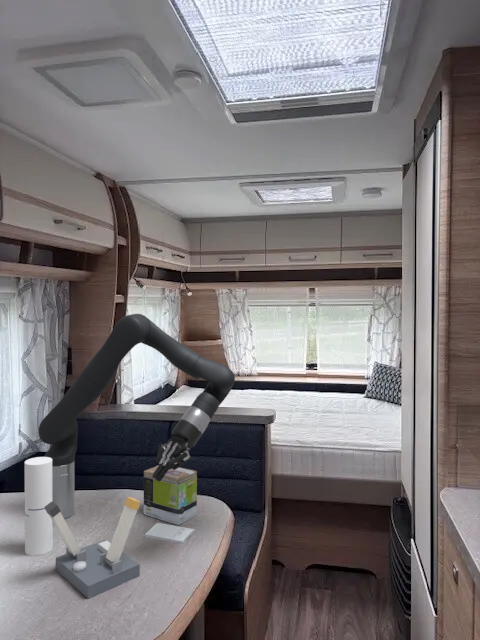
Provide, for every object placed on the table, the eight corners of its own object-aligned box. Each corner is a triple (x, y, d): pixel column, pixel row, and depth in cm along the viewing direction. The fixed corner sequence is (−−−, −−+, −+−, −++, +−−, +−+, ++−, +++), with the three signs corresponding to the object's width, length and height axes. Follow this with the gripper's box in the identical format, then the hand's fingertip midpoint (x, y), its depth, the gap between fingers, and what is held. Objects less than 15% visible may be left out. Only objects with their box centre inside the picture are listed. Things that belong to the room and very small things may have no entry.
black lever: (69, 554, 128) (43, 506, 122) (76, 548, 129) (50, 500, 124) (77, 561, 125) (50, 511, 119) (84, 554, 126) (58, 505, 121)
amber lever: (101, 561, 123) (126, 496, 127) (109, 562, 124) (132, 497, 129) (110, 568, 120) (135, 501, 124) (118, 569, 121) (141, 502, 125)
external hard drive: (158, 527, 152) (194, 533, 148) (144, 539, 144) (183, 546, 140) (158, 522, 152) (194, 528, 148) (144, 533, 144) (183, 540, 140)
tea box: (197, 515, 160) (198, 470, 159) (178, 526, 151) (178, 479, 151) (162, 504, 168) (163, 462, 167) (142, 515, 159) (142, 470, 159)
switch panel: (55, 569, 126) (55, 548, 126) (104, 550, 136) (104, 531, 136) (88, 598, 114) (88, 576, 114) (139, 575, 124) (139, 554, 123)
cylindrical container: (42, 557, 132) (42, 466, 131) (19, 554, 134) (18, 463, 133) (57, 544, 139) (57, 457, 138) (35, 541, 141) (34, 456, 140)
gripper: (170, 414, 142) (133, 465, 134) (199, 422, 132) (162, 478, 124) (184, 429, 146) (149, 480, 138) (213, 438, 136) (178, 493, 128)
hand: (155, 479), depth 131 cm, fingers closed
